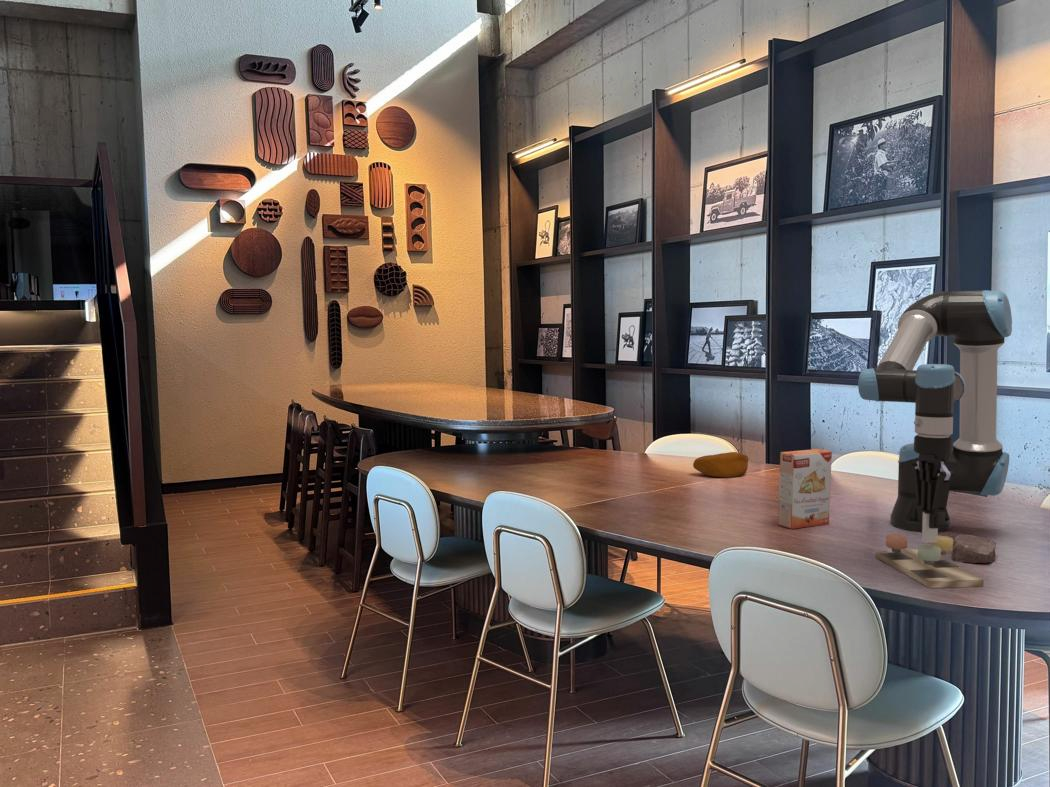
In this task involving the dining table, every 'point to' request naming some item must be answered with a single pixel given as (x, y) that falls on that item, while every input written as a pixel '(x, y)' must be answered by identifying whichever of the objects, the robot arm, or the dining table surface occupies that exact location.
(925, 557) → the sage button
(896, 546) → the terracotta button
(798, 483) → the cracker box
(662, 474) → the dining table surface
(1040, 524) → the dining table surface
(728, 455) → the bread
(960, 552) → the stone
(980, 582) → the board
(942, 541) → the ochre button
